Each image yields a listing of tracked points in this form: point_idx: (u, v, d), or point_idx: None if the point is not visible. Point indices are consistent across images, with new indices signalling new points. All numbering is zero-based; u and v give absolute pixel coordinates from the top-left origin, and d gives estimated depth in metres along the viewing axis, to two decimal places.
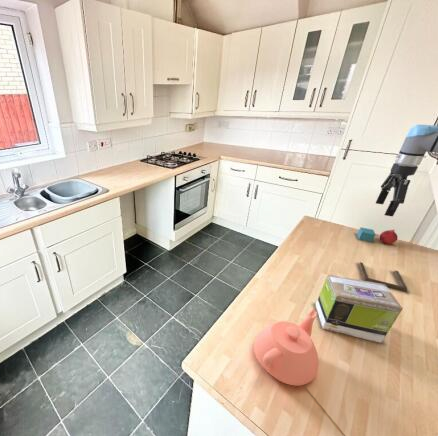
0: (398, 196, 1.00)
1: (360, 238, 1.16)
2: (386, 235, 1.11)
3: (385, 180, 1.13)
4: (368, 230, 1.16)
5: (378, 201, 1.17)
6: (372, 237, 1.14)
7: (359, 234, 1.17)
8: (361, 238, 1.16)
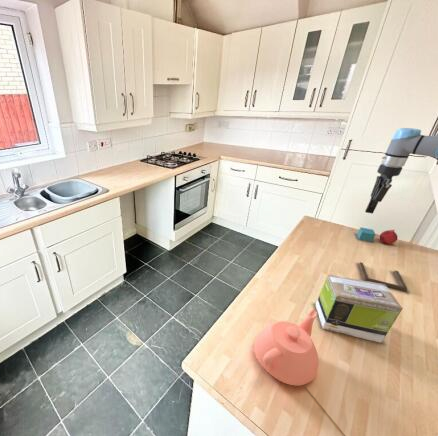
0: (377, 197, 1.11)
1: (360, 238, 1.16)
2: (386, 235, 1.11)
3: None
4: (368, 230, 1.16)
5: None
6: (372, 237, 1.14)
7: (359, 234, 1.17)
8: (361, 238, 1.16)
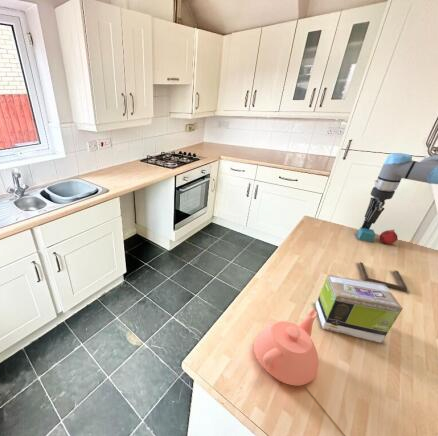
0: (370, 219, 1.13)
1: (360, 238, 1.16)
2: (386, 235, 1.11)
3: (367, 208, 1.19)
4: (368, 230, 1.16)
5: None
6: (372, 237, 1.14)
7: (359, 234, 1.17)
8: (361, 238, 1.16)
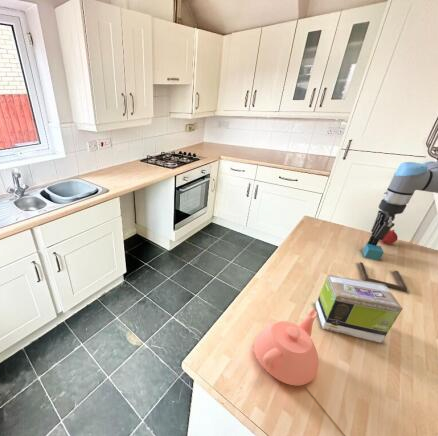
0: (378, 235, 1.01)
1: (366, 256, 1.04)
2: (386, 235, 1.11)
3: None
4: (375, 247, 1.04)
5: None
6: (380, 255, 1.02)
7: (365, 251, 1.05)
8: (367, 256, 1.04)
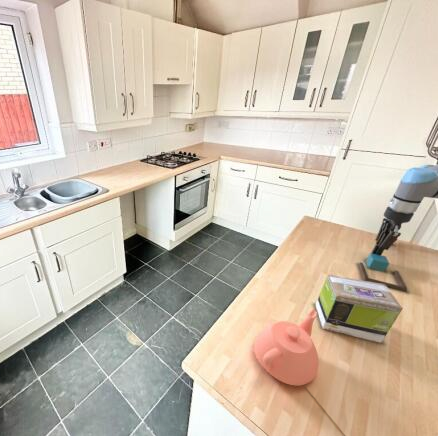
0: (383, 244, 0.95)
1: (370, 266, 0.98)
2: None
3: (379, 231, 1.00)
4: (380, 257, 0.98)
5: None
6: (385, 266, 0.96)
7: (369, 261, 0.99)
8: (372, 266, 0.98)
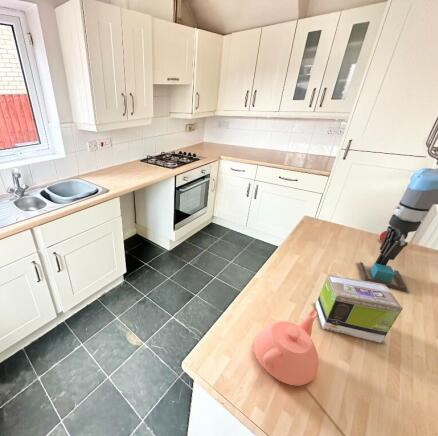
0: (388, 254, 0.89)
1: (375, 277, 0.93)
2: None
3: (383, 239, 0.95)
4: (385, 267, 0.92)
5: None
6: (390, 277, 0.90)
7: (373, 272, 0.94)
8: (376, 277, 0.92)
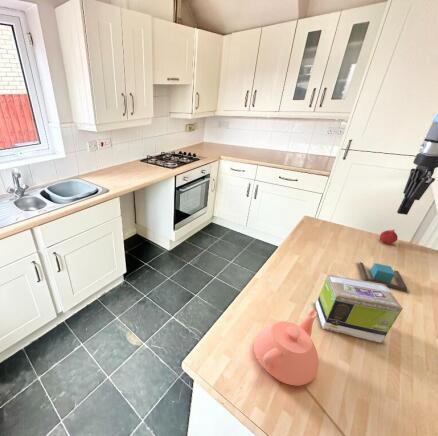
0: (414, 194, 0.89)
1: (375, 277, 0.93)
2: (386, 235, 1.11)
3: (407, 182, 0.95)
4: (385, 267, 0.92)
5: None
6: (390, 277, 0.90)
7: (373, 272, 0.94)
8: (376, 277, 0.92)
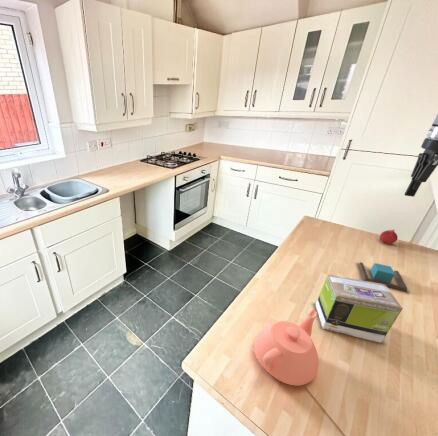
0: (421, 176, 0.96)
1: (375, 277, 0.93)
2: (386, 235, 1.11)
3: None
4: (385, 267, 0.92)
5: None
6: (390, 277, 0.90)
7: (373, 272, 0.94)
8: (376, 277, 0.92)
